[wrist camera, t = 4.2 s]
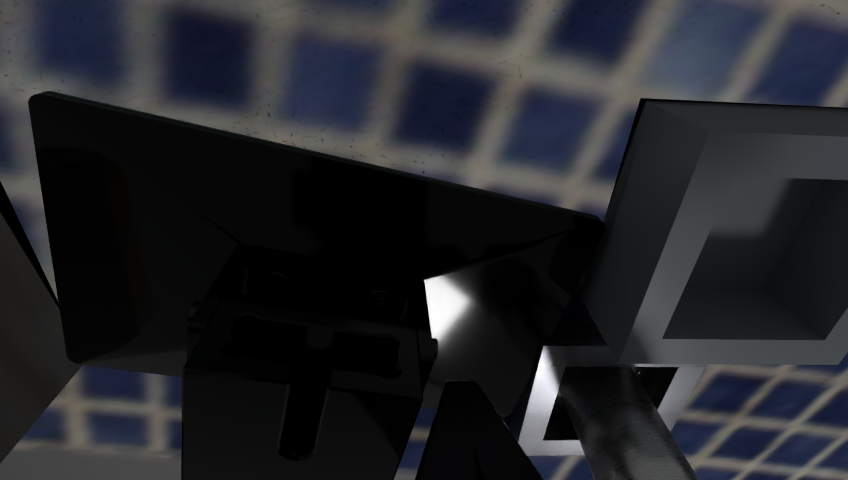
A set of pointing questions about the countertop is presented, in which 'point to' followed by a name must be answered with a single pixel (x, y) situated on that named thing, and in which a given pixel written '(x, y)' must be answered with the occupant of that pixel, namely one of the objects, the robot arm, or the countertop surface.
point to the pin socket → (586, 349)
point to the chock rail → (26, 334)
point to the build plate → (292, 286)
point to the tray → (726, 237)
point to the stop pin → (620, 426)
